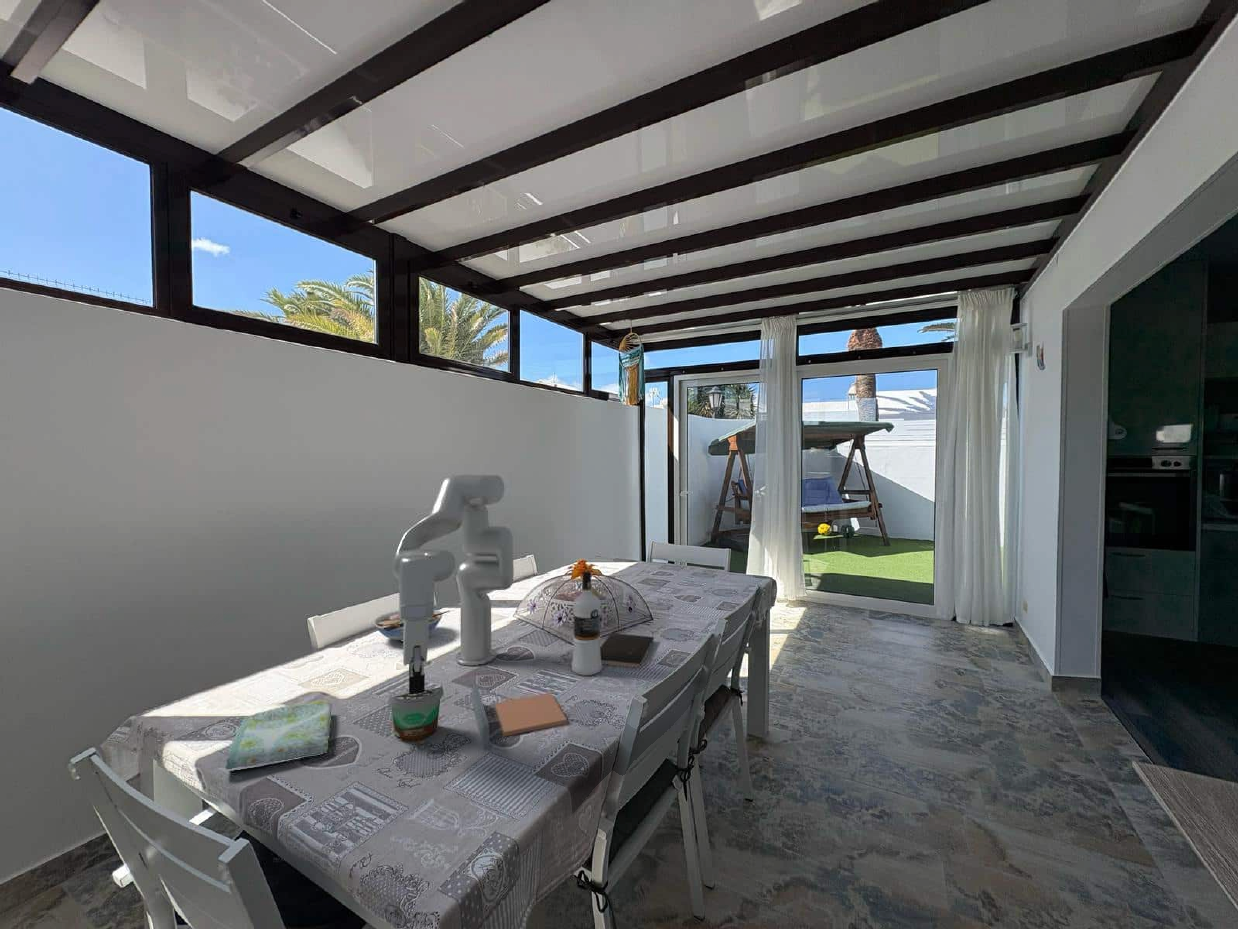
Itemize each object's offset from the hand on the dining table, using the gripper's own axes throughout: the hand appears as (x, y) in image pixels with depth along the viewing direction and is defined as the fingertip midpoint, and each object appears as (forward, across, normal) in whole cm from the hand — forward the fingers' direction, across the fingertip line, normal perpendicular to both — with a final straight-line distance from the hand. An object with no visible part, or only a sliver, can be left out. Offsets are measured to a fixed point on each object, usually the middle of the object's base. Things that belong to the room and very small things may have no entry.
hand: (416, 684), depth 117 cm
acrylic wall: (+12, -1, +14) cm, 19 cm away
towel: (+13, -10, -28) cm, 32 cm away
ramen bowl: (+11, -71, -2) cm, 72 cm away
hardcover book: (+12, -30, +64) cm, 72 cm away
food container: (+13, -1, 0) cm, 13 cm away
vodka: (+12, -21, +48) cm, 54 cm away
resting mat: (+12, -1, +26) cm, 29 cm away
